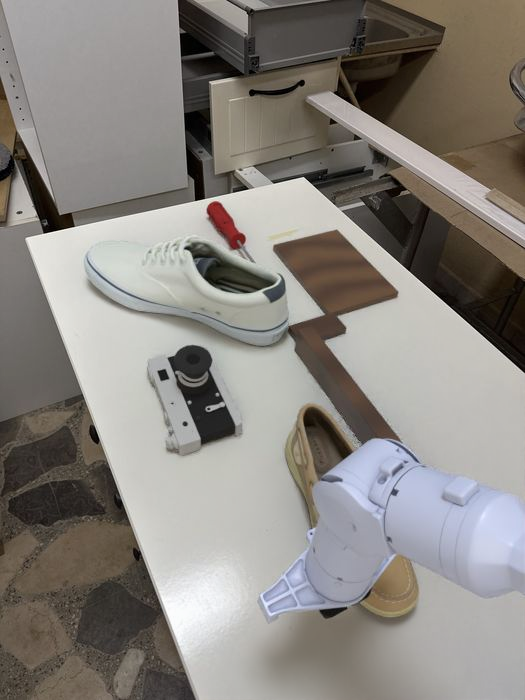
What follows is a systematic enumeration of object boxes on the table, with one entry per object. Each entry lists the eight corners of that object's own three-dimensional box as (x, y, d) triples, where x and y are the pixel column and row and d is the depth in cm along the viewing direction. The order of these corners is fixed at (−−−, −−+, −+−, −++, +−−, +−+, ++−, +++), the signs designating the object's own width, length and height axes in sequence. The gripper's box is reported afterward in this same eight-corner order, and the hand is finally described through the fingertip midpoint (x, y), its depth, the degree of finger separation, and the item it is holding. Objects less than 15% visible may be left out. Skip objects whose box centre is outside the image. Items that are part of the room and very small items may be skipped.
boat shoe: (364, 639, 53) (382, 614, 48) (261, 447, 68) (266, 410, 62) (432, 602, 56) (458, 574, 50) (320, 425, 71) (329, 388, 65)
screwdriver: (259, 295, 89) (260, 278, 86) (205, 217, 103) (204, 201, 101) (277, 290, 90) (279, 274, 87) (221, 213, 105) (221, 198, 102)
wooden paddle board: (583, 488, 67) (602, 470, 64) (447, 564, 59) (461, 548, 56) (336, 234, 102) (339, 214, 99) (230, 260, 95) (230, 240, 91)
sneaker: (113, 251, 94) (102, 188, 85) (301, 306, 87) (311, 243, 78) (71, 294, 85) (54, 229, 76) (276, 358, 79) (284, 295, 70)
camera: (246, 403, 64) (166, 427, 61) (243, 435, 69) (170, 459, 66) (204, 321, 73) (133, 338, 70) (205, 354, 78) (139, 372, 75)
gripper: (390, 473, 47) (359, 536, 57) (245, 539, 42) (239, 597, 52) (441, 542, 43) (398, 598, 53) (287, 626, 38) (271, 670, 48)
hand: (322, 602), depth 52 cm, fingers closed
